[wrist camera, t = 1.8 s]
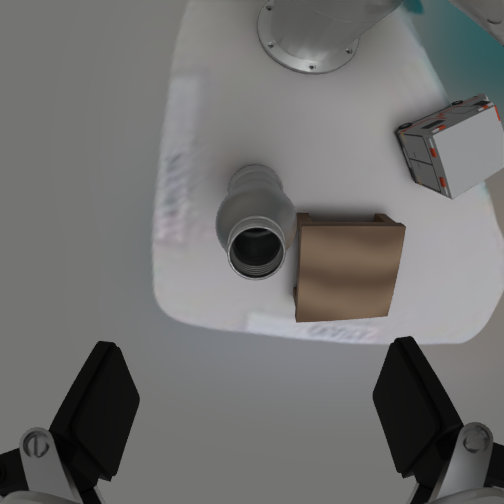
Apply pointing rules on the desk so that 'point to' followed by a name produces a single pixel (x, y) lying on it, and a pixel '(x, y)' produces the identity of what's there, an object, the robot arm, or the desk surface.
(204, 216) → the desk surface
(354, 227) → the walnut stand
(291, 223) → the plastic bottle
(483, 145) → the toy vehicle
